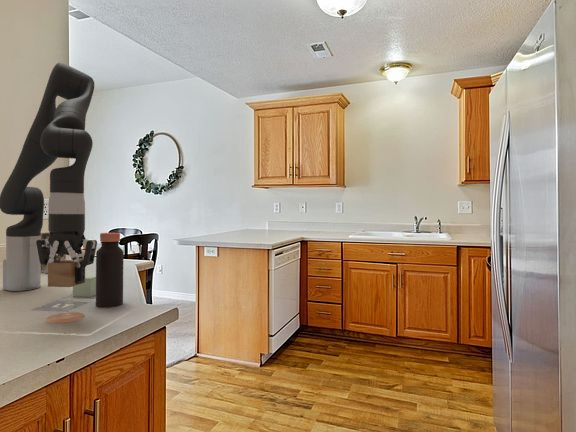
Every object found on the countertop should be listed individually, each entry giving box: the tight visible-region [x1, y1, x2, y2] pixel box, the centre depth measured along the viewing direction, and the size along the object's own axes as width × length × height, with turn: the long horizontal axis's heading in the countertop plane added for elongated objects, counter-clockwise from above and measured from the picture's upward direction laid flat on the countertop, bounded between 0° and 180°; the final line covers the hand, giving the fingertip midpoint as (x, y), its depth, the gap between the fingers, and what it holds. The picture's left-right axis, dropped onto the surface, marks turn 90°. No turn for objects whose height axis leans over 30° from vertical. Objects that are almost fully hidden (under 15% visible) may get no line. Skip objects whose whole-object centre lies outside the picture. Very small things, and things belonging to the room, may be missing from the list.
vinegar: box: [95, 232, 124, 309], centre depth 102 cm, size 7×7×20 cm
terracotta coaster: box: [45, 311, 85, 324], centre depth 89 cm, size 8×8×1 cm
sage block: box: [72, 274, 96, 297], centre depth 112 cm, size 6×6×6 cm
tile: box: [31, 300, 90, 313], centre depth 99 cm, size 10×10×1 cm
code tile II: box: [61, 293, 96, 300], centre depth 112 cm, size 10×10×1 cm
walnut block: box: [47, 259, 85, 288], centre depth 89 cm, size 6×6×6 cm
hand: (66, 282), depth 89 cm, fingers closed on walnut block, 5 cm apart
